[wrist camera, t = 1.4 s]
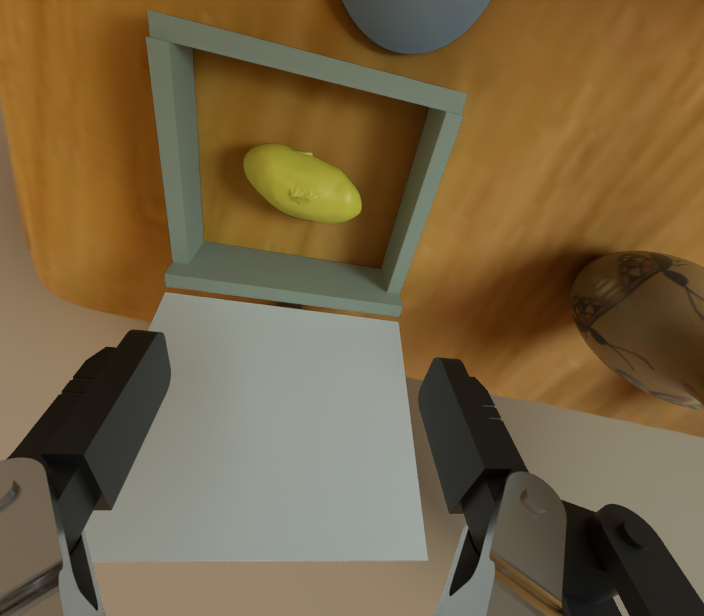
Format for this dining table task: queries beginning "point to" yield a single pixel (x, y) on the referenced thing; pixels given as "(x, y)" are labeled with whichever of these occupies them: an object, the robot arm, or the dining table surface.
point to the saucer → (414, 22)
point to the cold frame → (270, 267)
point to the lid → (271, 443)
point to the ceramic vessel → (645, 321)
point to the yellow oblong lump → (301, 184)
